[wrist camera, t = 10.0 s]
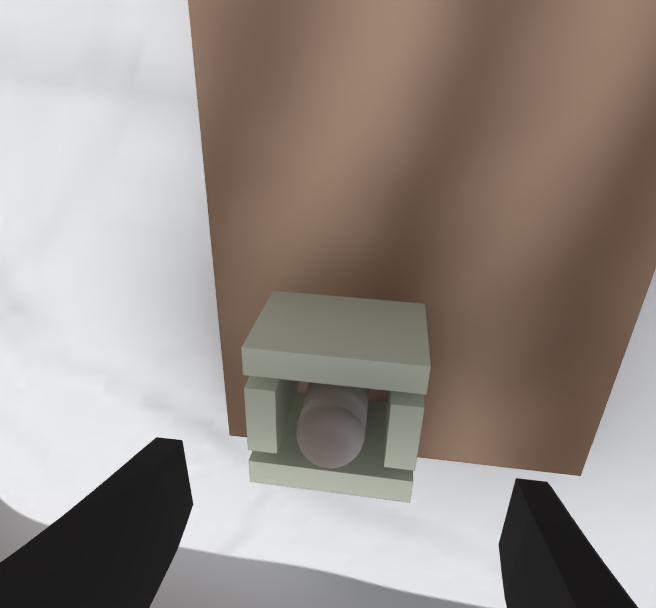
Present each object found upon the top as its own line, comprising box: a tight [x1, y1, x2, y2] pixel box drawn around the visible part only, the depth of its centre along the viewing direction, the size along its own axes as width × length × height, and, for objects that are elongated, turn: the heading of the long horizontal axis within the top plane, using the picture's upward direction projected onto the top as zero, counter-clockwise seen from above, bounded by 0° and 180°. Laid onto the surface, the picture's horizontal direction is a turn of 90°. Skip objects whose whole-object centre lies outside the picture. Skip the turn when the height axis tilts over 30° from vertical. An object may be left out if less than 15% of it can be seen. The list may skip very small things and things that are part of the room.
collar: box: [241, 291, 431, 503], centre depth 17 cm, size 6×6×4 cm
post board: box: [188, 0, 656, 476], centre depth 15 cm, size 15×19×6 cm
